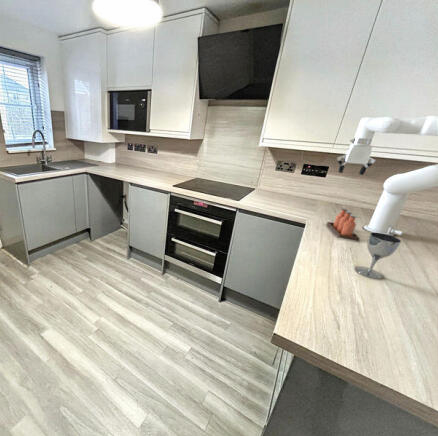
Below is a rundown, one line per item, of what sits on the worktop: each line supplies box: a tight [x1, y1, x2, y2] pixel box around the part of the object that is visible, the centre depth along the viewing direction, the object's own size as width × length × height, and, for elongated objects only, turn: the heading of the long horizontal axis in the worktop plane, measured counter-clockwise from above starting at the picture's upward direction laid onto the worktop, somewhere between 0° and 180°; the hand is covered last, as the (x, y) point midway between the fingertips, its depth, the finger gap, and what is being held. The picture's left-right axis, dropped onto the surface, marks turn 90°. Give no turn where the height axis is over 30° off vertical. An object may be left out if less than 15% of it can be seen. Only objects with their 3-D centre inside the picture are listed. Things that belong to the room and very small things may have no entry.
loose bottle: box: [341, 214, 357, 236], centre depth 117 cm, size 4×4×11 cm
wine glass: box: [356, 232, 402, 280], centre depth 86 cm, size 8×8×15 cm
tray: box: [326, 221, 361, 242], centre depth 124 cm, size 19×8×2 cm, turn 159°
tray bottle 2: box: [337, 211, 353, 233], centre depth 122 cm, size 4×4×11 cm
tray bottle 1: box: [333, 207, 348, 229], centre depth 127 cm, size 4×4×11 cm
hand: (350, 173), depth 134 cm, fingers open, 9 cm apart
